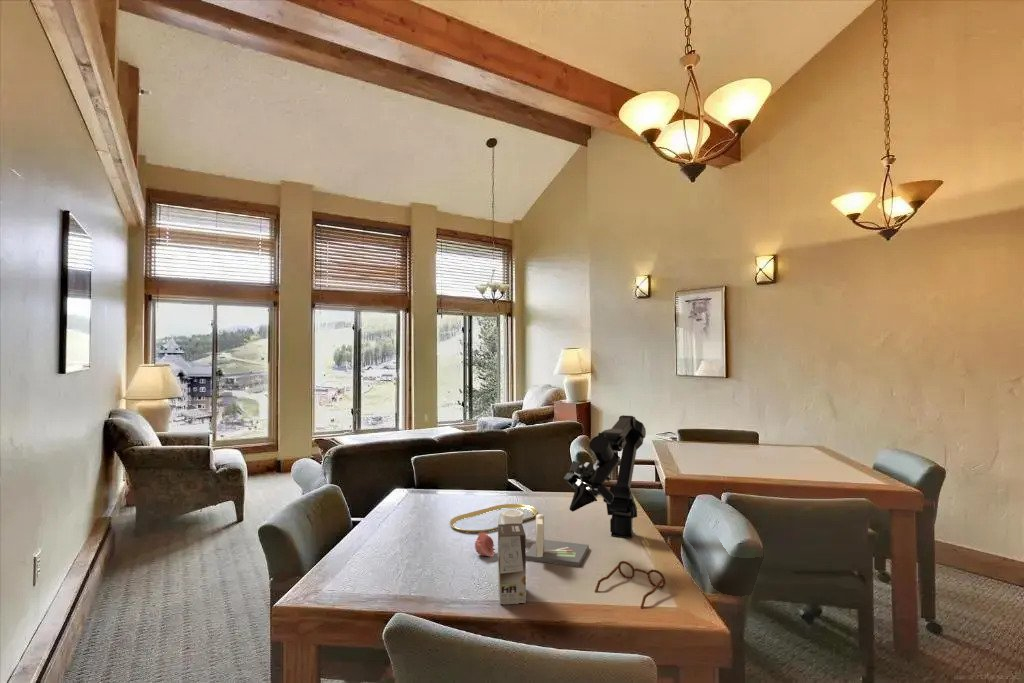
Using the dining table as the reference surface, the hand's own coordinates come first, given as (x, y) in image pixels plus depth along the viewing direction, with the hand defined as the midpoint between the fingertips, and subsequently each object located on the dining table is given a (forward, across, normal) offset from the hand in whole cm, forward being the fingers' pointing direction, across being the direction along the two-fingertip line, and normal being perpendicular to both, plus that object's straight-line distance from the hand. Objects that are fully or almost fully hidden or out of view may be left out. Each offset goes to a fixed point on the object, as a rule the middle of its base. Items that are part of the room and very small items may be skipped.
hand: (570, 510), depth 150 cm
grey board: (+11, -4, +8) cm, 14 cm away
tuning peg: (+12, -1, +5) cm, 13 cm away
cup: (+16, -23, +4) cm, 28 cm away
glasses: (+9, +24, +11) cm, 28 cm away
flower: (+25, -13, -5) cm, 29 cm away
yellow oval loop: (+14, -42, +6) cm, 44 cm away
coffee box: (+28, +14, -8) cm, 32 cm away
